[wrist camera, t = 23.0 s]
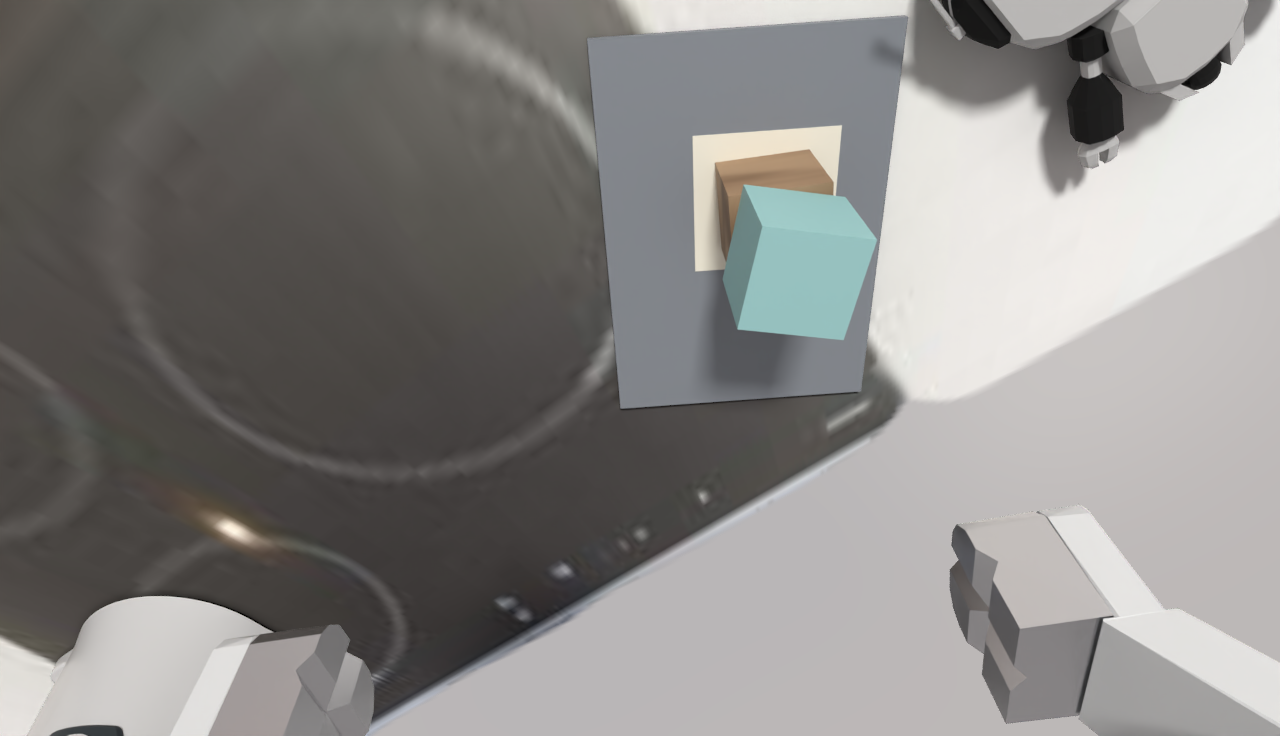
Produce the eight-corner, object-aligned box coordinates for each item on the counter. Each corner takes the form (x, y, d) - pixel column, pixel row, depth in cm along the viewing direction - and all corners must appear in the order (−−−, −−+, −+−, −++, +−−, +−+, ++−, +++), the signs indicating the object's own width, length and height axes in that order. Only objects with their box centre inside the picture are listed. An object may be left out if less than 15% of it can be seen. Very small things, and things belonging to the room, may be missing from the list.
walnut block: (809, 236, 38) (832, 276, 35) (721, 248, 39) (734, 289, 35) (809, 149, 36) (833, 181, 32) (715, 162, 36) (728, 196, 32)
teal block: (817, 289, 35) (843, 340, 31) (722, 279, 34) (737, 329, 31) (845, 196, 33) (877, 239, 29) (743, 184, 32) (762, 226, 28)
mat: (858, 387, 44) (860, 391, 44) (620, 404, 44) (620, 409, 44) (904, 15, 33) (908, 17, 33) (587, 37, 33) (587, 40, 33)
